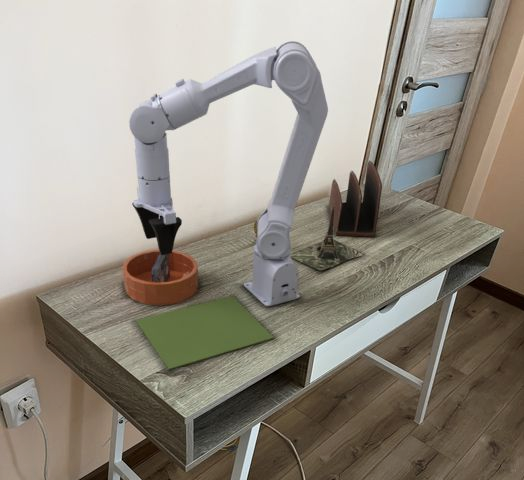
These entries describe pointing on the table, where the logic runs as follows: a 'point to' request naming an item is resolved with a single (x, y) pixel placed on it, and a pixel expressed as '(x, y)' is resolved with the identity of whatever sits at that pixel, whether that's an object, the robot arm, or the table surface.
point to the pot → (160, 293)
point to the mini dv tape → (161, 269)
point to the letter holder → (357, 205)
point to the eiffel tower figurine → (326, 251)
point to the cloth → (202, 331)
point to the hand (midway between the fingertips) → (158, 245)
